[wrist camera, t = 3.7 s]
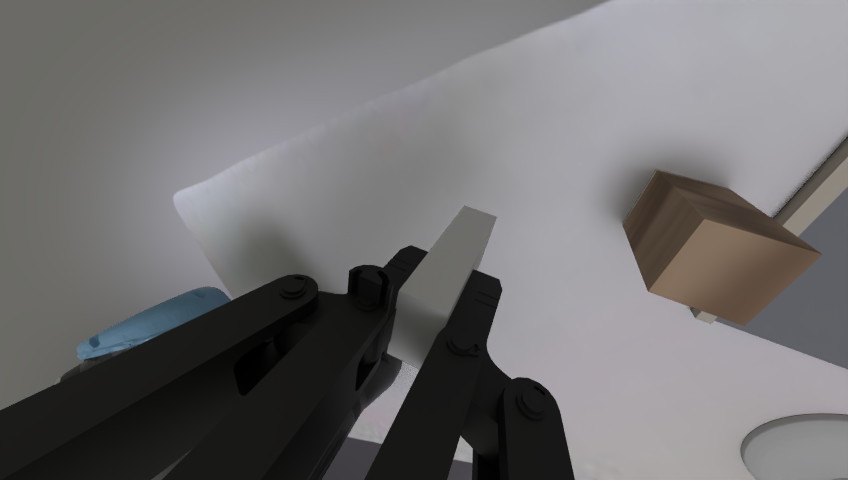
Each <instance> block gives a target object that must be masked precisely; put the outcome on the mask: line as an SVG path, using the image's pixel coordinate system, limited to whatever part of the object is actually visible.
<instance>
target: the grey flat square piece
mask: <svg viewBox="0 0 848 480" xmlns="http://www.w3.org/2000/svg"><path fill="white" fill-rule="evenodd" d="M773 220H774V221H776V222H777V223H779V224H780V225H782V226H783V227H784V228H786V229H787V230H789V231H790V232H792V233H793V234H794V235H796V236H797V237H799V238H800V239H802V240H803V241H804V242H806V243H807V244H809V245H810V246H812V247H813V248H814V249H816V250H817V251H819V252H820V253H821V254H823V255H822V256H820V257H819V258H818V259H817V260H816V261H815V262H814V263H813V264H812V265H811V266H810V267H808V268H807V269H806V270H805V271H804V272H803V273H802V274H801V275H800V276H799V277H798V278H796V279H795V280H794V281H793V282H792V283H791V284H790V285H789V286H788V287H787V288H786V289H784V290H783V291H782V292H781V293H780V294H779V295H778V296H777V297H776V298H775V299H774V300H772V301H771V302H770V303H769V304H768V305H767V306H766V307H765V308H764V309H763V310H761V311H760V312H759V313H758V314H757V315H756V316H755V317H754V318H753V319H752V320H751V321H749V322H748V323H747V324H746V325H745V326H742V325H739V324H736V323H734V322H731V321H728V320H725V319H723V318H720V317H717V316H714V315H712V314H709V313H706V312H703V311H701V310H698V309H695V308H691V309H690V310H691V312H692V313H693V315H694V317H695V318H696V319H699V320H701V321H704V322H707V323H709V324H711V323H712V322H713V321H717V322H720V323H723V324H725V325H728V326H731V327H734V328H736V329H739V330H742V331H744V332H747V333H750V334H753V335H755V336H758V337H761V338H764V339H766V340H769V341H772V342H775V343H777V344H780V345H783V346H786V347H788V348H791V349H794V350H797V351H799V352H802V353H805V354H808V355H810V356H813V357H816V358H818V359H821V360H824V361H827V362H829V363H832V364H835V365H838V366H840V367H843V368H846V369H848V138H847V139H846V140H845V141H844V142H843V143H842V144H841V145H840V146H839V147H838V149H837V150H836V151H835V152H834V153H833V154H832V155H831V156H830V157H829V158H828V159H827V161H826V162H825V163H824V164H823V165H822V166H821V167H820V168H819V169H818V170H817V171H816V173H815V174H814V175H813V176H812V177H811V178H810V179H809V180H808V181H807V182H806V184H805V185H804V186H803V187H802V188H801V189H800V190H799V191H798V192H797V193H796V194H795V196H794V197H793V198H792V199H791V200H790V201H789V202H788V203H787V204H786V205H785V206H784V208H783V209H782V210H781V211H780V212H779V213H778V214H777V215H776V216H775V217H774V219H773Z"/></svg>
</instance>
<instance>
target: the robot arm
mask: <svg viewBox="0 0 848 480" xmlns="http://www.w3.org/2000/svg"><path fill="white" fill-rule="evenodd" d="M496 218H497V217H496V216H493V215H490V214H487V213H484V212H481V211H479V210H476V209H473V208H470V207H467V206H464V207H463V208H462V210H461V211H460V212H459V213H458V215H457V216H456V217H455V219H454V220H453V221H452V223H451V224H450V225H449V226H448V228H447V229H446V230H445V232H444V233H443V234H442V235H441V237H440V238H439V239H438V241H437V242H436V243H435V244H434V246H433V247H432V248H431V250H430V251H429V252H427V251H424V250H422V249H419V248H417V247H414V246H412V245H410V246H408V247H405V248H403V249H401V250H399V252H398V253H397V254H396V255H395V256H394V257H393V258H392V259H391V260H390V261H389V262H388V264H386V265H385V266H384V267H383V268H382V267H378V266H375V265H361V266H357V267H355V268H353V269H351V270H350V271H349V280H348V293H347V294H333V293H327V292H322V291H318V285H317V283H316V282H315V281H314V280H313V279H312V278H310V277H308V276H305V275H299V274H296V275H287V276H284V277H281V278H278V279H276V280H274V281H272V282H270V283H268V284H266V285H264V286H262V287H259V288H257V289H255V290H253V291H251V292H249V293H247V294H245V295H243V296H240V297H238V298H236V299H234V300H232V301H231V300H230V299H229V298H228V296H227V295H226V294H225V293H224V292H222V291H221V290H220V289H218V288H214V287H202V288H198V289H195V290H192V291H189V292H187V293H184V294H182V295H179V296H177V297H174V298H172V299H170V300H167V301H165V302H163V303H160V304H158V305H156V306H154V307H151V308H149V309H147V310H145V311H143V312H141V313H138V314H136V315H134V316H132V317H130V318H128V319H126V320H124V321H122V322H120V323H118V324H116V325H114V326H111V327H110V328H108V329H106V330H104V331H102V332H101V333H99V334H97V335H95V336H94V337H92V338H89V339H87V340H85V341H84V342H82V343H81V344H80V345H78V347H77V349H76V350H77V353H78V356H77V358H79V359H80V360H84V362H83V363H81V364H79V365H78V366H76V367H75V368H73V369H71V370H70V371H68V372H67V373H65V374H63V375H62V376H60V377H59V378H58V379H57V380H56V382H55V385H53V386H51V387H49V388H47V389H45V390H42V391H40V392H38V393H36V394H34V395H32V396H30V397H28V398H26V399H23V400H21V401H19V402H17V403H15V404H13V405H11V406H9V407H7V408H5V409H2V410H0V480H151V479H152V478H154V477H155V476H156V475H158V474H159V473H160V472H162V471H163V470H164V469H166V468H167V467H169V466H170V465H171V464H173V463H174V462H175V461H177V460H178V459H179V458H181V457H182V456H184V458H183V459H182V460H181V461H180V463H178V464H177V465H176V466H175V467H174V468H173V469H172V470H171V471H170V472H169V473H168V474H167V476H165V477H164V478H163V479H162V480H322V478H323V476H324V475H325V473H326V471H327V470H328V468H329V467H330V465H331V463H332V461H333V460H334V458H335V456H336V455H337V453H338V451H339V450H340V448H341V446H342V444H343V442H344V441H345V439H346V438H347V436H348V434H349V433H350V431H351V429H352V427H353V426H354V424H355V422H356V421H357V419H358V417H359V416H360V414H361V413H362V411H363V410H364V409H365V408H366V407H367V406H369V405H370V404H371V403H372V402H373V401H374V400H375V399H376V398H378V397H379V396H380V395H381V394H382V393H383V392H384V391H385V390H387V389H388V388H389V387H390V386H391V385H392V383H393V382H394V380H395V378H396V377H397V375H398V373H399V371H400V369H401V365H402V361H404V362H406V363H408V364H410V365H412V366H414V367H416V368H418V369H420V370H419V372H418V374H417V376H416V378H415V380H414V382H413V384H412V386H411V388H410V390H409V392H408V394H407V396H406V398H405V400H404V402H403V404H402V406H401V408H400V410H399V412H398V414H397V416H396V418H395V420H394V422H393V424H392V426H391V428H390V430H389V432H388V434H387V436H386V438H385V440H384V442H383V444H382V446H381V448H380V450H379V452H378V454H377V456H376V458H375V460H374V462H373V464H372V466H371V468H370V470H369V472H368V474H367V476H366V477H365V480H447V478H448V474H449V471H450V468H451V465H452V461H453V458H454V455H455V451H456V448H457V445H458V441H459V438H460V435H461V437H462V438H463V439H464V440H465V441H466V442H467V443H468V444H469V445H470V446H471V447H472V448H473V466H472V468H473V469H472V480H575V478H574V474H573V469H572V465H571V460H570V455H569V451H568V446H567V442H566V437H565V432H564V428H563V423H562V418H561V414H560V410H559V408H558V405H557V402H556V400H555V399H554V397H553V396H552V395H551V393H550V392H549V391H548V390H547V389H546V388H545V387H543V386H542V385H541V384H540V383H538V382H536V381H534V380H531V379H529V378H521V377H518V378H515V379H511V378H510V377H508V376H507V375H506V374H505V373H504V372H502V371H501V370H500V369H499V368H498V367H497V366H496V365H495V364H494V362H493V361H492V360H491V358H490V356H489V354H488V351H487V339H488V335H489V332H490V329H491V326H492V322H493V319H494V316H495V312H496V309H497V306H498V303H499V299H500V296H501V293H502V287H501V284H500V280H499V279H497V278H494V277H492V276H489V275H487V274H484V273H482V272H479V271H477V270H478V267H479V265H480V262H481V260H482V257H483V254H484V251H485V248H486V246H487V243H488V240H489V237H490V235H491V232H492V229H493V226H494V223H495V221H496Z"/></svg>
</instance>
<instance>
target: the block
mask: <svg viewBox="0 0 848 480" xmlns="http://www.w3.org/2000/svg"><path fill="white" fill-rule="evenodd" d="M622 225H623V227H624V230H625V233H626V235H627V238H628V240H629V243H630V246H631V248H632V251H633V254H634V256H635V259H636V261H637V264H638V267H639V269H640V272H641V275H642V277H643V280H644V282H645V285H646V288H647V290H648V292H651V293H654V294H656V295H659V296H662V297H665V298H667V299H670V300H673V301H676V302H678V303H681V304H684V305H687V306H689V307H692V308H695V309H698V310H701V311H703V312H706V313H709V314H712V315H714V316H717V317H720V318H723V319H725V320H728V321H731V322H734V323H736V324H739V325H742V326H745V325H746V324H747V323H748V322H749V321H751V320H752V319H753V318H754V317H755V316H756V315H757V314H758V313H759V312H760V311H761V310H763V309H764V308H765V307H766V306H767V305H768V304H769V303H770V302H771V301H772V300H774V299H775V298H776V297H777V296H778V295H779V294H780V293H781V292H782V291H783V290H784V289H786V288H787V287H788V286H789V285H790V284H791V283H792V282H793V281H794V280H795V279H796V278H798V277H799V276H800V275H801V274H802V273H803V272H804V271H805V270H806V269H807V268H808V267H810V266H811V265H812V264H813V263H814V262H815V261H816V260H817V259H818V258H819V257H820V256H822V255H823V254H821V253H820V252H819V251H817V250H816V249H814V248H813V247H812V246H810V245H809V244H807V243H806V242H804V241H803V240H802V239H800V238H799V237H797V236H796V235H794V234H793V233H792V232H790V231H789V230H787V229H786V228H784V227H783V226H782V225H780V224H779V223H777V222H776V221H774V220H773V219H772V218H770V217H769V216H767V215H766V214H765V213H763V212H762V211H760V210H759V209H757V208H756V207H755V206H753V205H752V204H750V203H749V202H747V201H746V200H745V199H743V198H742V197H740V196H739V195H737V194H736V193H735V192H733V191H732V190H730V189H727V188H724V187H720V186H717V185H713V184H709V183H706V182H702V181H698V180H695V179H691V178H688V177H684V176H680V175H677V174H673V173H670V172H666V171H662V170H659V169H656V171H655V172H654V174H653V175H652V177H651V179H650V180H649V182H648V183H647V185H646V187H645V188H644V190H643V192H642V193H641V195H640V196H639V198H638V200H637V201H636V203H635V204H634V206H633V208H632V209H631V211H630V213H629V214H628V216H627V217H626V219H625V221H624V222H623V224H622Z"/></svg>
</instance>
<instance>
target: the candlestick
mask: <svg viewBox="0 0 848 480" xmlns="http://www.w3.org/2000/svg"><path fill="white" fill-rule="evenodd" d="M741 455H742V458H743V461H744V463H745V465H746V467H747V469H748V470H749V472H750V473H751V474H752V476H753V477H754V478H755V479H756V480H848V415H840V414H807V415H798V416H791V417H786V418H781V419H778V420H774V421H771V422H769V423H766V424H764V425H762V426H760V427H758V428H756V429H755V430H753V431H752V432H751V433H750V434H749V435H748V436H747V437H746V438H745V440H744V441H743V443H742V447H741Z"/></svg>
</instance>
